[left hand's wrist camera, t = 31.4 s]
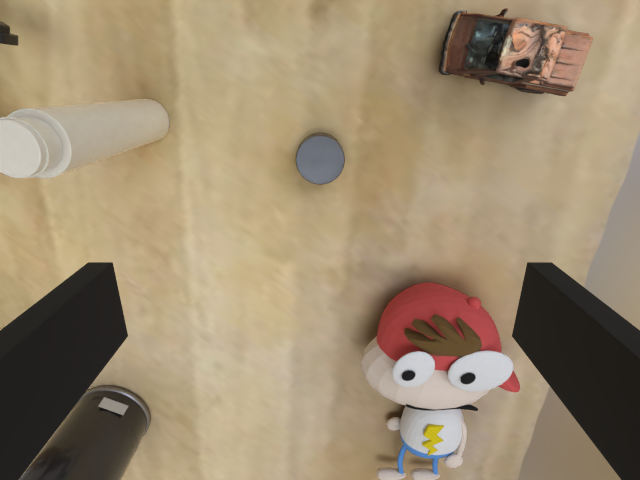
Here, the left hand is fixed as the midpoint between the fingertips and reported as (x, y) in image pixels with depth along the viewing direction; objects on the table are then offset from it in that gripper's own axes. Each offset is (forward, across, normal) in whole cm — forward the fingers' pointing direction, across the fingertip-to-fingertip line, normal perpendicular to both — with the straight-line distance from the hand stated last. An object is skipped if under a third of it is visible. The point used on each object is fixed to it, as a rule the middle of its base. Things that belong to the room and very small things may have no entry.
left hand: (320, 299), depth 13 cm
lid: (+27, 0, 0) cm, 27 cm away
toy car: (+29, -17, -9) cm, 35 cm away
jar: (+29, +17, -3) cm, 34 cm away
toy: (+29, -13, +28) cm, 42 cm away
